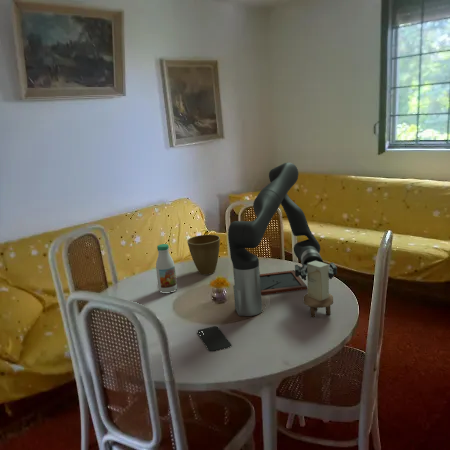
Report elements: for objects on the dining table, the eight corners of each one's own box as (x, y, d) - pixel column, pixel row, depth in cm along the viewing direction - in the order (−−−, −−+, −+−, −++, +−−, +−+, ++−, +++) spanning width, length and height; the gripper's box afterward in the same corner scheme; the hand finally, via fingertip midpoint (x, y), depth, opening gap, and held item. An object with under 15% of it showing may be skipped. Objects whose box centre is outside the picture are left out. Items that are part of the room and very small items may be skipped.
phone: (209, 351, 134) (196, 330, 148) (209, 353, 135) (196, 332, 148) (232, 345, 137) (217, 325, 151) (232, 348, 137) (217, 327, 151)
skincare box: (307, 296, 154) (306, 263, 151) (316, 292, 156) (315, 260, 154) (321, 301, 149) (319, 267, 146) (330, 297, 151) (329, 263, 149)
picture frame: (245, 298, 174) (307, 290, 176) (244, 293, 173) (307, 285, 175) (238, 280, 193) (294, 273, 195) (237, 276, 193) (294, 269, 195)
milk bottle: (155, 293, 185) (149, 247, 180) (164, 286, 192) (159, 242, 187) (171, 295, 182) (166, 248, 177) (180, 287, 189) (175, 242, 184)
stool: (310, 321, 148) (310, 305, 147) (299, 310, 158) (299, 294, 156) (338, 317, 150) (338, 300, 149) (326, 305, 160) (325, 289, 158)
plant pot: (194, 267, 214) (190, 235, 210) (224, 266, 211) (222, 233, 207) (187, 278, 199) (183, 244, 195) (220, 277, 197) (217, 242, 193)
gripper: (292, 253, 165) (296, 267, 149) (331, 250, 163) (339, 265, 148) (293, 272, 166) (297, 288, 151) (331, 270, 165) (339, 286, 149)
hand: (318, 277), depth 149 cm, fingers open, 8 cm apart
